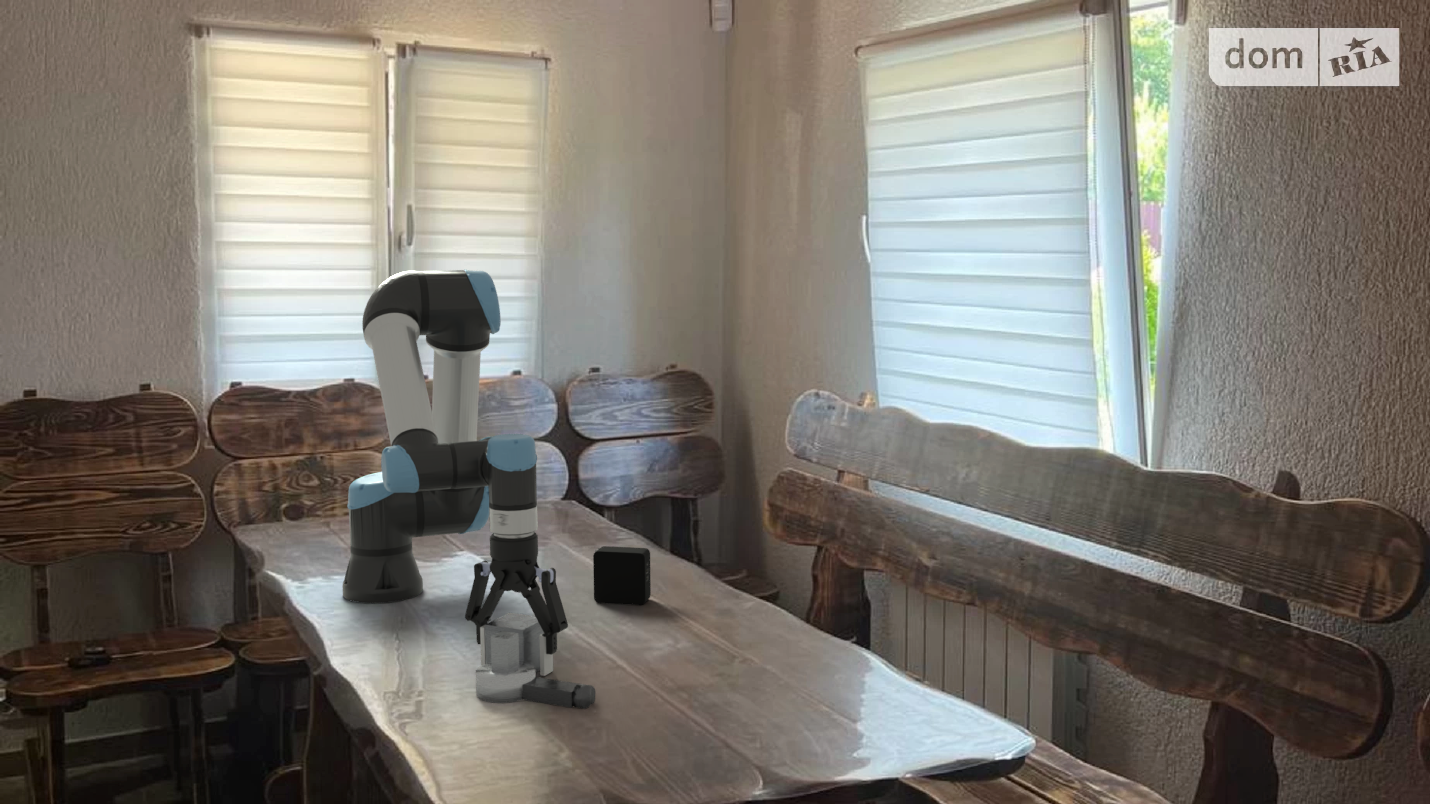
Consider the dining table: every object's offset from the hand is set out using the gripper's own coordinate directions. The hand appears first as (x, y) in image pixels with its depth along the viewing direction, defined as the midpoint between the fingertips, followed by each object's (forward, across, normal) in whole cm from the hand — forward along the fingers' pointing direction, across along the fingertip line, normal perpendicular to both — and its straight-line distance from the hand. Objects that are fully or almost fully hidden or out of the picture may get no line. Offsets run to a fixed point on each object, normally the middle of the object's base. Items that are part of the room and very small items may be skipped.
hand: (517, 668), depth 209 cm
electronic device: (0, -3, +41) cm, 41 cm away
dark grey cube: (0, 0, 0) cm, 0 cm away
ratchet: (+1, +9, -9) cm, 13 cm away
